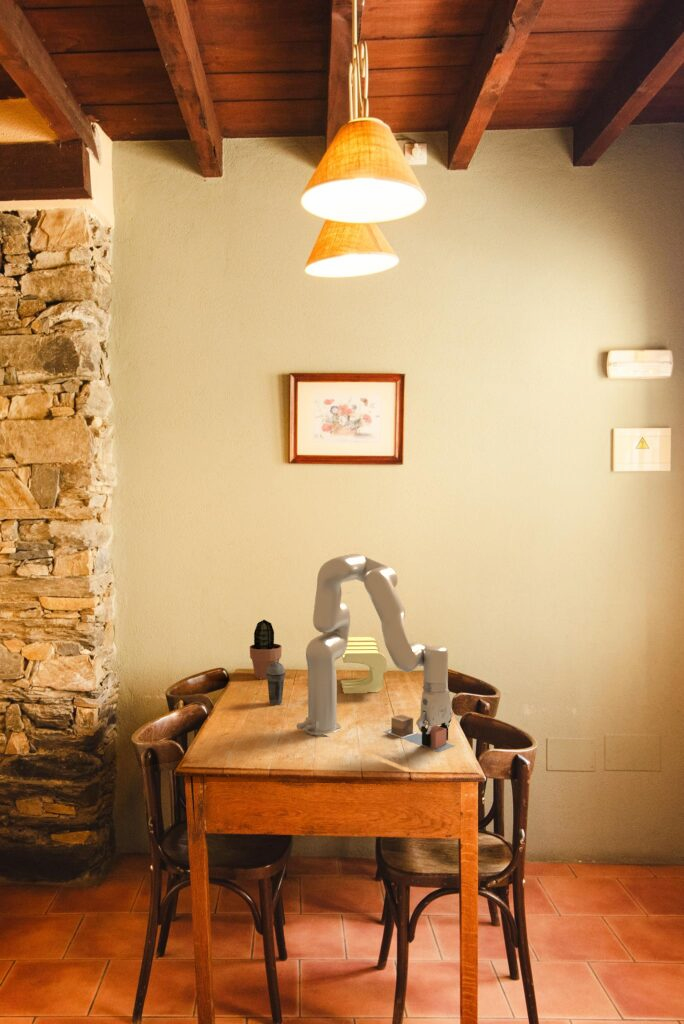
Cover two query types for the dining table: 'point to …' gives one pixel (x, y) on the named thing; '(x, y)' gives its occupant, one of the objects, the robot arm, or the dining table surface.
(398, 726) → the walnut block
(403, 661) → the robot arm
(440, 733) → the red block
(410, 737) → the blueprint mat
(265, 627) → the potted plant
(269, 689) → the beverage cup
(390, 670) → the dining table surface
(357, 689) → the slatted curved stool
